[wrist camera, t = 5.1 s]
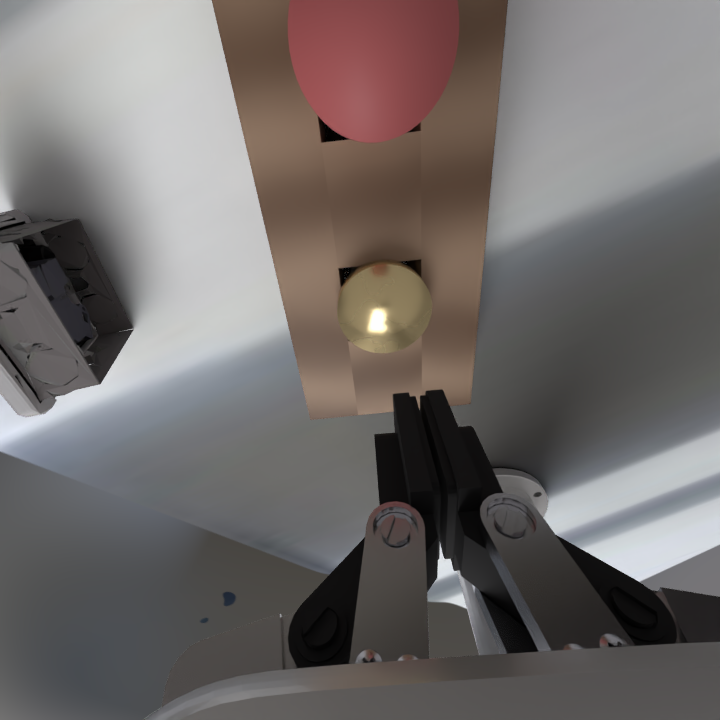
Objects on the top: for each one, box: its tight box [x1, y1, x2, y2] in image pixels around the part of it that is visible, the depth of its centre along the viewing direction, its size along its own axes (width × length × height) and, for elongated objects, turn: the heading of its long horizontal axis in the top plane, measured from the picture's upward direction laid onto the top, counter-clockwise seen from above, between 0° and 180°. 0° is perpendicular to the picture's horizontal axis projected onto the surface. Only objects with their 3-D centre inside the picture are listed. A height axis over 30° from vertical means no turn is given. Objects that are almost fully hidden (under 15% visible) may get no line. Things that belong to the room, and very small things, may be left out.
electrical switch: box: [0, 209, 134, 417], centre depth 19 cm, size 9×5×9 cm, turn 5°
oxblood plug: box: [288, 0, 459, 143], centre depth 12 cm, size 5×5×6 cm
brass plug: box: [337, 260, 432, 353], centre depth 20 cm, size 5×5×6 cm
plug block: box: [212, 0, 508, 420], centre depth 18 cm, size 26×11×5 cm, turn 6°
